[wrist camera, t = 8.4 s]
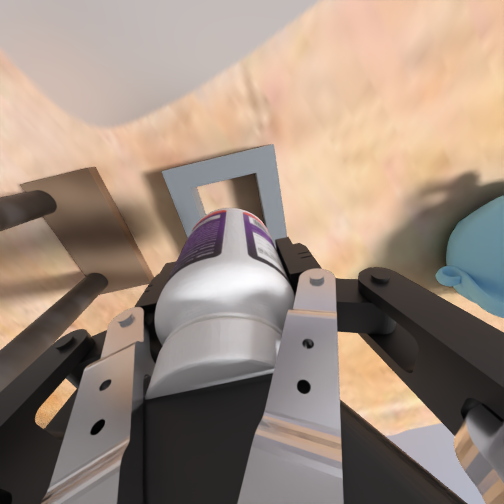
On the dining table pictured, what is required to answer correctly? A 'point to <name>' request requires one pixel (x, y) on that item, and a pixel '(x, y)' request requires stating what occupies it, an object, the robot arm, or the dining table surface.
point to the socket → (223, 168)
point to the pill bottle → (221, 306)
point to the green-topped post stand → (72, 255)
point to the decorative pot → (478, 258)
